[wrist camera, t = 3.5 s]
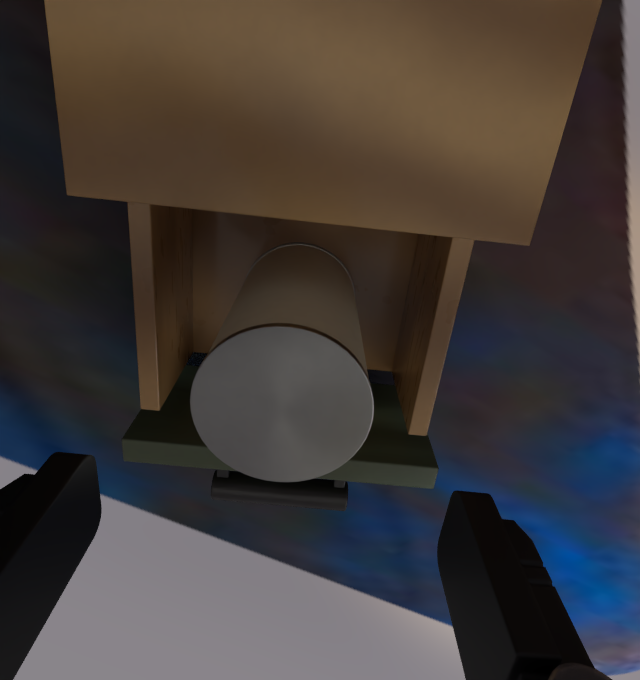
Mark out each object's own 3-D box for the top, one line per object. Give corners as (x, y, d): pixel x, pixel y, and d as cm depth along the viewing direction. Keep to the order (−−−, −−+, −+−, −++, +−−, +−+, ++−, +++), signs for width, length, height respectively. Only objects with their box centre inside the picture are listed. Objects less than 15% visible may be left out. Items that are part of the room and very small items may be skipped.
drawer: (395, 464, 29) (414, 559, 23) (172, 443, 28) (129, 534, 22) (459, 174, 22) (513, 195, 15) (162, 140, 21) (94, 148, 15)
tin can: (241, 342, 24) (190, 474, 15) (245, 236, 22) (188, 316, 13) (347, 352, 24) (360, 489, 15) (362, 248, 22) (388, 337, 13)
